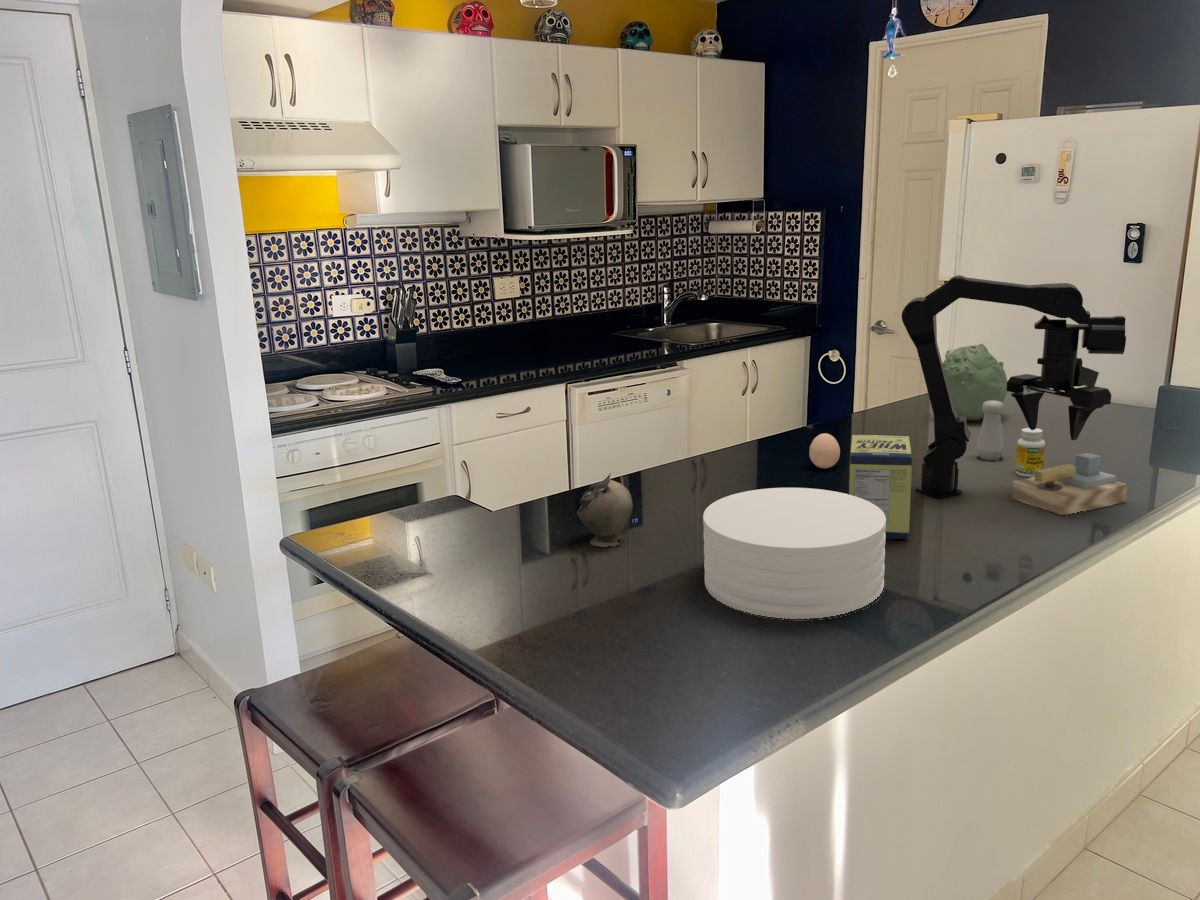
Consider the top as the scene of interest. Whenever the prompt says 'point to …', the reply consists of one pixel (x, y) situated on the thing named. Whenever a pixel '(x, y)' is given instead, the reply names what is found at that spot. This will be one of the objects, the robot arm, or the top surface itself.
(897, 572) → the top surface
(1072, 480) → the lid
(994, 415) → the salt shaker
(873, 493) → the protein box
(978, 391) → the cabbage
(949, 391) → the robot arm
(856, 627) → the top surface
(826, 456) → the egg
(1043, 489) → the birch box
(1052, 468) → the tan wooden bar
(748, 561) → the plate stack
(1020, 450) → the supplement bottle
